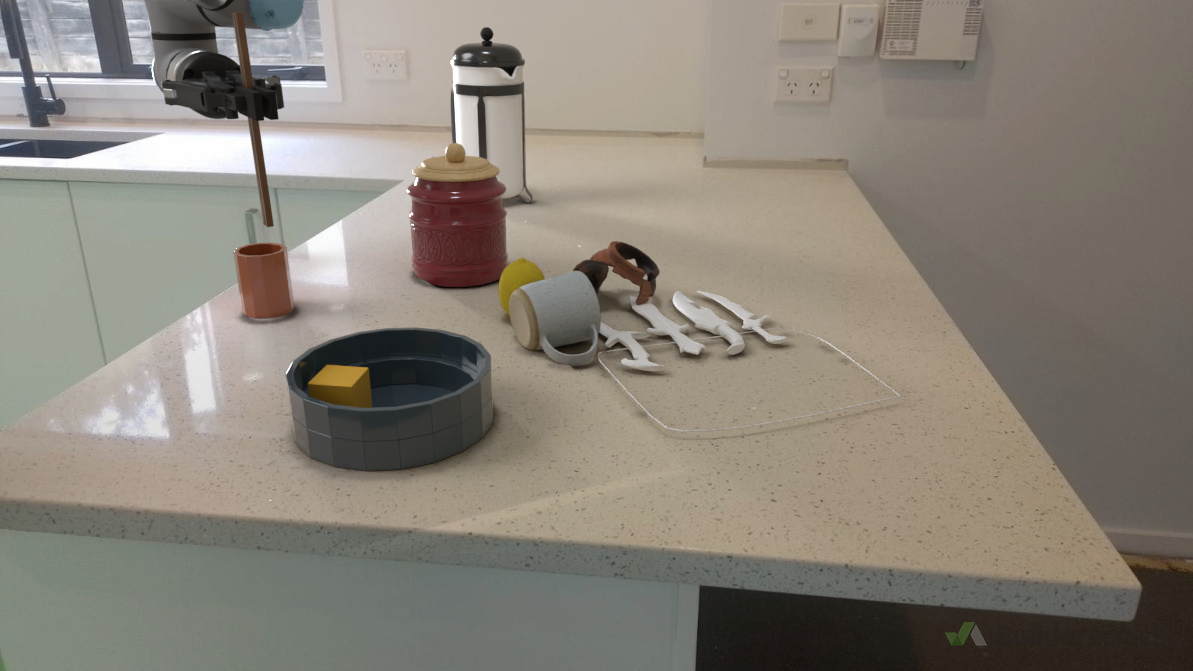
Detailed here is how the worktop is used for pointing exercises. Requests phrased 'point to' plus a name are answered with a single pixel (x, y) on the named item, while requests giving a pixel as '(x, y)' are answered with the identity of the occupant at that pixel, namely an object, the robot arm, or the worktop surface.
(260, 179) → the chopsticks
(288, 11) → the robot arm
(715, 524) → the worktop surface
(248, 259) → the holder
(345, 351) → the bowl
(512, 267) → the lemon
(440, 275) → the kitchen canister
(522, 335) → the ceramic mug
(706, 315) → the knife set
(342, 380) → the block
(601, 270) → the broken clay pot
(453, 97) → the coffee press
